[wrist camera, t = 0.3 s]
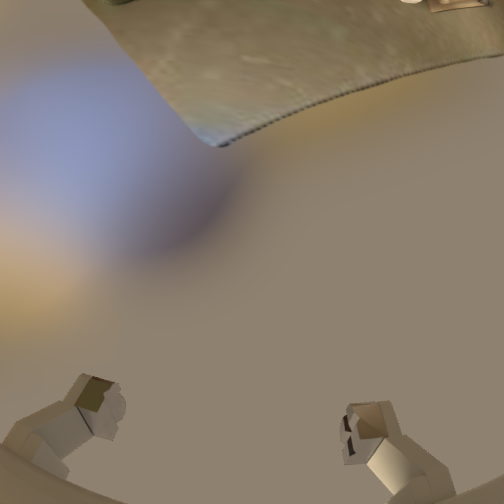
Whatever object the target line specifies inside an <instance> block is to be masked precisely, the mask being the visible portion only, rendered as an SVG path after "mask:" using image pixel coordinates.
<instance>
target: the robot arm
mask: <svg viewBox="0 0 504 504" xmlns="http://www.w3.org/2000/svg"><path fill="white" fill-rule="evenodd" d="M120 390H121V388H120V386H119V383H116V382H112V381H108V380H104V379H101V378H98V377H94V376H91V375H87V374H84V373H83V374H81V375H80V376H79V377H78V378H77V380H76V382H75V383H74V384H73V386H72V387H71V389H70V391H69V392H68V394H67V395H66V397H65V398H64V400H63V401H58V402H56V403H54V404H52V405H50V406H48V407H45V408H43V409H41V410H40V411H37V412H35V413H33V414H31V415H29V416H27V417H25V418H23V419H21V420H19V421H17V422H16V423H15V424H14V426H13V427H12V429H11V430H10V432H9V433H8V435H7V437H6V438H5V440H4V441H3V443H2V444H1V443H0V504H126V503H123V502H120V501H117V500H114V499H111V498H108V497H106V496H103V495H100V494H98V493H95V492H93V491H90V490H87V489H85V488H83V487H80V486H78V485H76V484H73V483H71V482H69V481H67V480H66V478H67V476H68V473H69V469H68V467H67V466H66V465H65V464H64V463H63V461H62V459H63V458H64V457H66V456H67V455H69V454H70V453H71V452H73V451H74V450H76V449H77V448H78V447H80V446H81V445H82V444H84V443H85V442H87V441H88V440H89V439H91V438H92V437H93V435H94V436H97V437H101V438H104V439H108V440H111V441H113V439H114V437H115V434H116V432H117V430H118V425H117V422H118V421H120V420H122V419H123V416H124V414H125V409H126V403H125V399H124V397H123V396H122V395H121V394H120V393H119V392H120ZM346 413H347V415H345V416H344V417H343V418H342V421H341V425H340V439H341V441H342V442H343V443H344V444H345V446H344V448H343V450H342V452H343V458H344V464H345V465H353V464H364V463H367V465H368V467H369V468H370V469H371V470H372V471H373V472H374V473H375V475H376V476H377V477H378V478H379V479H380V480H381V481H382V482H383V483H384V484H385V486H387V488H388V489H389V490H390V491H391V492H392V493H393V494H394V496H393V497H391V498H390V500H388V501H387V502H386V503H385V504H504V474H503V475H501V476H499V477H497V478H495V479H493V480H491V481H489V482H487V483H485V484H482V485H480V486H478V487H476V488H473V489H471V490H468V491H466V492H464V493H461V494H459V495H456V491H455V488H454V485H453V482H452V479H451V476H450V473H449V470H448V468H447V467H446V466H445V465H444V464H442V463H441V462H440V461H439V460H437V459H436V458H435V457H434V456H432V455H431V454H430V453H428V452H427V451H426V450H425V449H423V448H422V447H421V446H420V445H418V444H417V443H416V442H415V441H413V440H412V439H411V438H410V437H408V436H407V435H402V433H401V429H400V426H399V423H398V420H397V418H396V415H395V412H394V409H393V406H392V404H391V402H390V401H379V402H364V403H352V404H349V405H348V407H347V409H346Z"/></svg>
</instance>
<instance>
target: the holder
mask: <svg viewBox="0 0 504 504" xmlns="http://www.w3.org/2000/svg"><path fill="white" fill-rule="evenodd" d="M427 3H428V6H429V8H430V11H431V12H437V11H443V10H449V9H456V8H464V7H473V6H484V5H485V4H486V5H489V1H488V0H427Z"/></svg>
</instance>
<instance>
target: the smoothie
mask: <svg viewBox="0 0 504 504" xmlns="http://www.w3.org/2000/svg"><path fill="white" fill-rule="evenodd" d="M401 1H403V2H406V3H418V2H420V1H422V0H401Z"/></svg>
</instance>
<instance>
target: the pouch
mask: <svg viewBox="0 0 504 504" xmlns="http://www.w3.org/2000/svg"><path fill="white" fill-rule="evenodd" d="M97 1H101V2H104V3H107V4H110V5H113V6H114V5H116V6H120V5H123V4H125V3H127V2H130V1H133V0H97Z"/></svg>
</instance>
